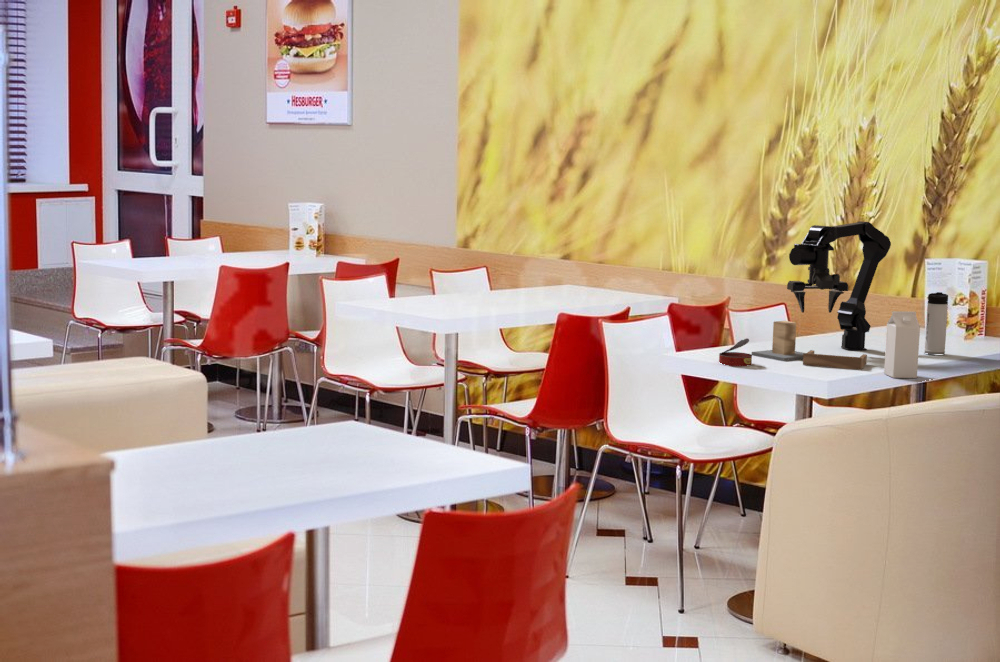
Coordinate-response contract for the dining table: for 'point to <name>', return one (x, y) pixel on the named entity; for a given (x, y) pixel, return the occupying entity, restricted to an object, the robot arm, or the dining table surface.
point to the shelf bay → (834, 360)
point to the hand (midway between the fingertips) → (816, 312)
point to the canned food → (736, 356)
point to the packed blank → (784, 337)
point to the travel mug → (936, 323)
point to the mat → (779, 355)
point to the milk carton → (902, 345)
